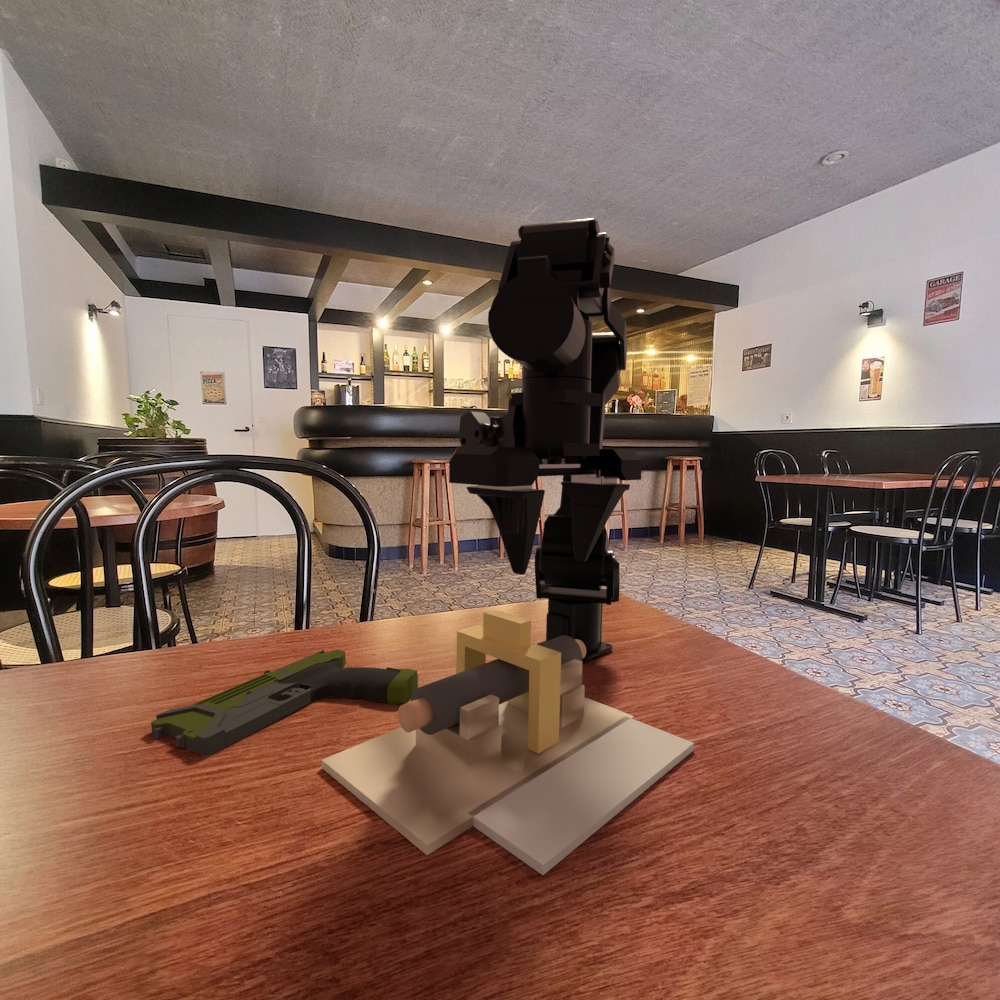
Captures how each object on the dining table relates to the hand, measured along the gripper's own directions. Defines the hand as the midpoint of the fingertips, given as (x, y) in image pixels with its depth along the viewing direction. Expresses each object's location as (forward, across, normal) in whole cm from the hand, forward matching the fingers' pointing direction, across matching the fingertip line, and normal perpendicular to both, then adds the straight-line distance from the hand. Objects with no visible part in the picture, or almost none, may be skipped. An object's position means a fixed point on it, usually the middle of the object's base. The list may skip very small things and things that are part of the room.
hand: (551, 566), depth 47 cm
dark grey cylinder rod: (+8, +6, 0) cm, 10 cm away
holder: (+13, +7, 0) cm, 15 cm away
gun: (+14, +15, -16) cm, 26 cm away
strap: (+13, +6, 0) cm, 14 cm away
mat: (+13, +6, +9) cm, 17 cm away
